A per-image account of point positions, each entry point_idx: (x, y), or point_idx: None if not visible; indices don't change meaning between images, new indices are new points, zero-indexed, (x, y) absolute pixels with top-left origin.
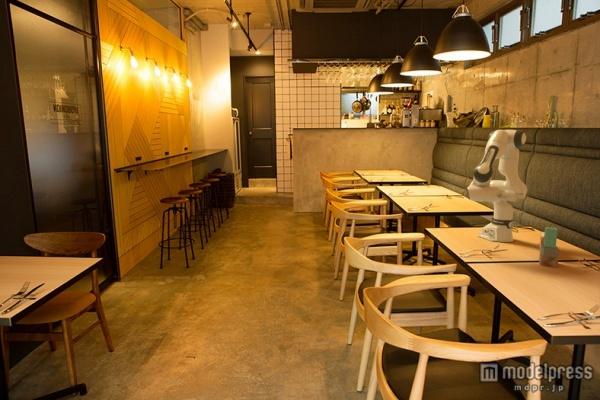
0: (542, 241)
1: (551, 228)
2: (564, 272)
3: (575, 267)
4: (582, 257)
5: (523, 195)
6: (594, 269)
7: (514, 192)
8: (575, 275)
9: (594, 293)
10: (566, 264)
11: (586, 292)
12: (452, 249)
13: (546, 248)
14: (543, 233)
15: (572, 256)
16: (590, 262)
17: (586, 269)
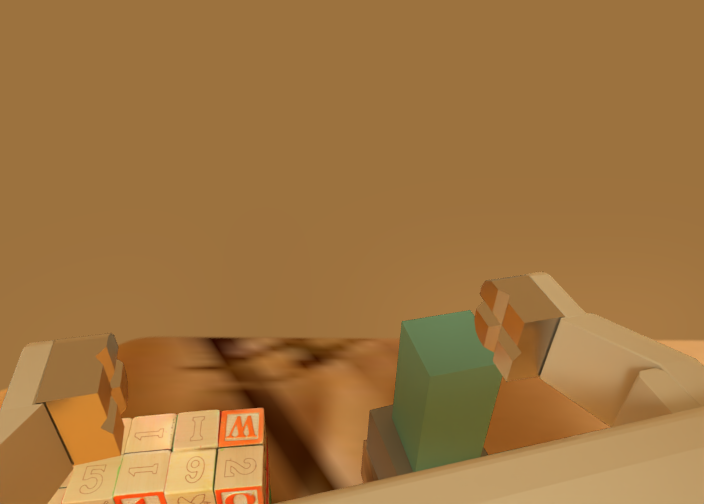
0: (264, 498)
1: (458, 339)
2: (510, 427)
3: (385, 393)
4: (175, 373)
5: (545, 287)
6: (367, 338)
7: (421, 479)
8: (518, 390)
9: (682, 340)
10: (356, 426)
11: (700, 358)
12: None
13: (484, 452)
14: (126, 481)
15: (171, 409)
16: (257, 348)
17: (388, 359)
